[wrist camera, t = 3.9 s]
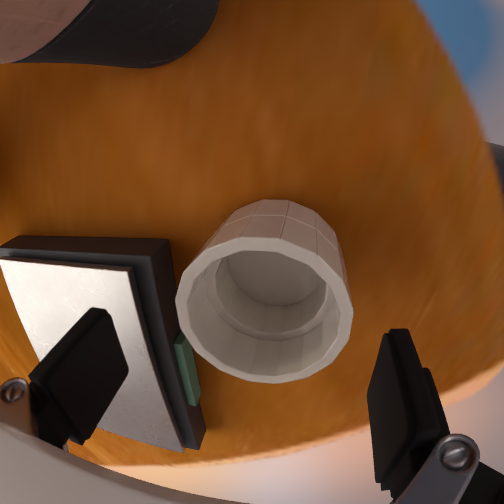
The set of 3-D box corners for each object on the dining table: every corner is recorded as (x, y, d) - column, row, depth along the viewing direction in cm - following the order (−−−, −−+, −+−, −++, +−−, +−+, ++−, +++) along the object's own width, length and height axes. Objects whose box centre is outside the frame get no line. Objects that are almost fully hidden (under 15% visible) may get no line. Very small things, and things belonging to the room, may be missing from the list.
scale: (179, 238, 17) (161, 256, 15) (213, 430, 25) (205, 452, 22) (18, 235, 20) (-3, 247, 18) (82, 396, 27) (71, 411, 25)
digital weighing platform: (133, 266, 15) (127, 271, 15) (185, 447, 22) (183, 453, 22) (3, 255, 18) (-2, 259, 17) (75, 413, 24) (72, 417, 24)
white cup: (345, 198, 15) (363, 241, 10) (335, 315, 18) (339, 387, 13) (210, 196, 16) (164, 235, 11) (219, 308, 19) (189, 373, 14)
